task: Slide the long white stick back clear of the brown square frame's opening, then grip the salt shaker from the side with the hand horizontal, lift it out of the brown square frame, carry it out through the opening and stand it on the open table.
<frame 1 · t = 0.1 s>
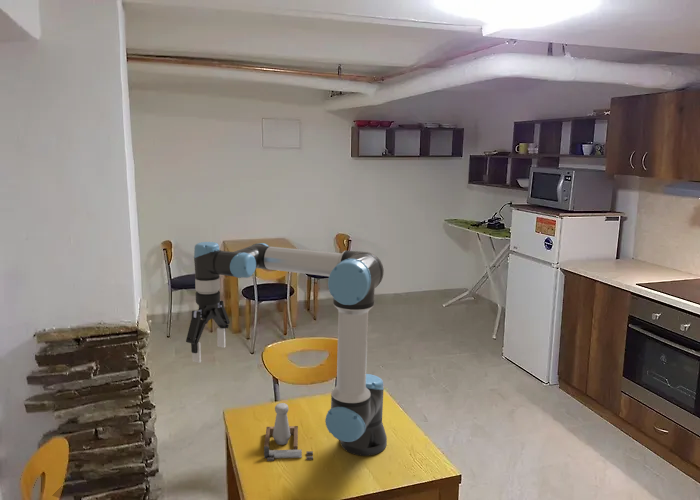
hand: (209, 354, 176), 28 cm above the table, tool pointing down, fingers open, 13 cm apart
brown square frame: (281, 441, 177), on the table
salt shaker: (281, 442, 178), resting in brown square frame
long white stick: (283, 451, 168), point 2 cm above the table, slide at 0.0 cm
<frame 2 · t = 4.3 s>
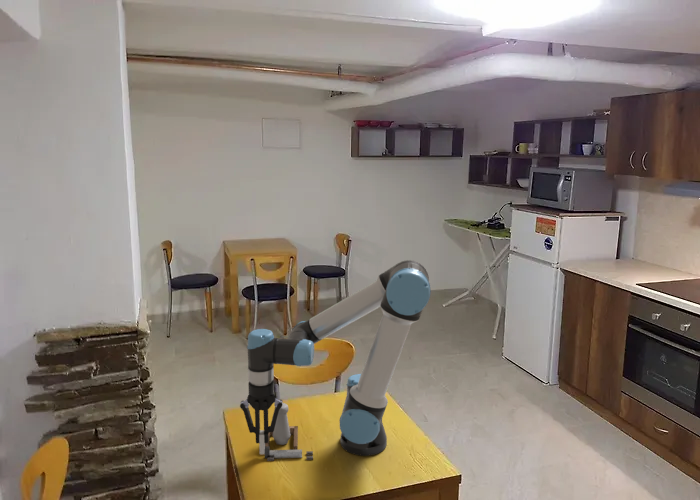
hand: (262, 451, 168), 2 cm above the table, tool pointing down, fingers closed
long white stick: (283, 451, 168), point 2 cm above the table, slide at 0.1 cm, touching gripper
everything else where it was.
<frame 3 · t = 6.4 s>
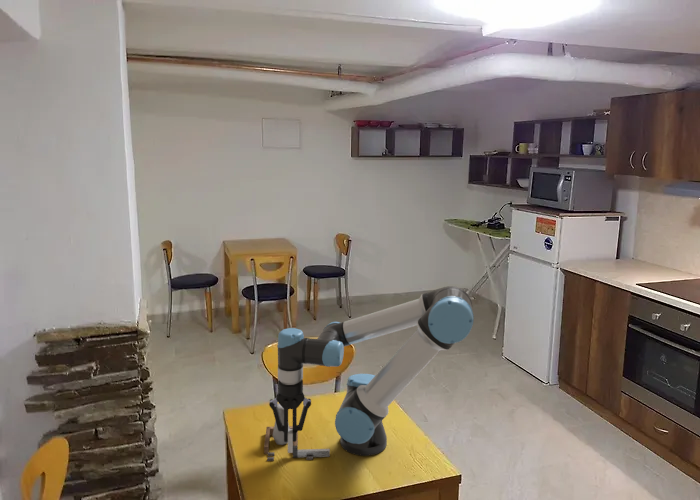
hand: (290, 450, 168), 2 cm above the table, tool pointing down, fingers closed
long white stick: (311, 451, 169), point 2 cm above the table, slide at 8.7 cm
everything else where it was.
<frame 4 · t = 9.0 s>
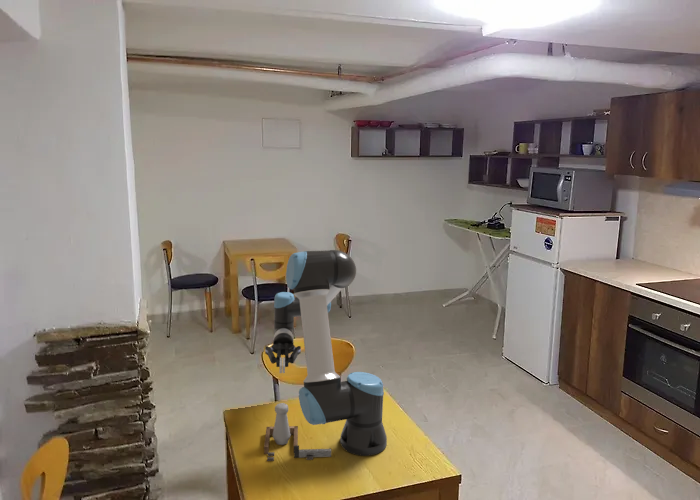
hand: (282, 369, 180), 22 cm above the table, tool horizontal, fingers closed
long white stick: (312, 451, 169), point 2 cm above the table, slide at 9.2 cm
everything else where it was.
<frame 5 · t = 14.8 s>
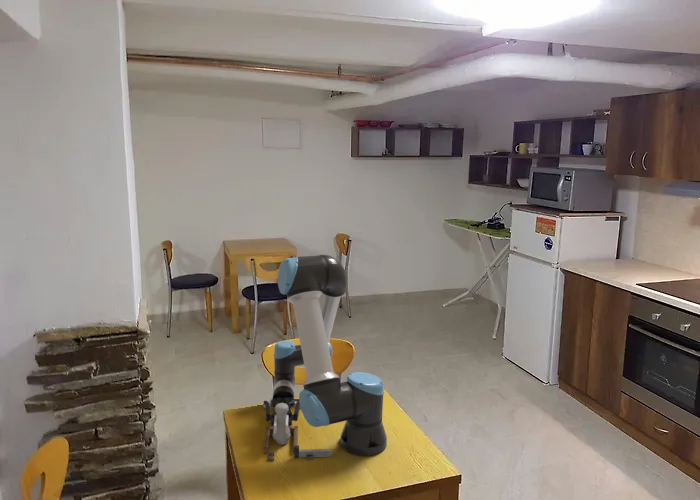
hand: (280, 429, 171), 8 cm above the table, tool horizontal, fingers closed on salt shaker, 3 cm apart
salt shaker: (281, 442, 178), resting in brown square frame, touching gripper
everything else where it was.
when the fingers open (9 cm above the table, at t = 20.1 s): salt shaker stays where it is, on the table.
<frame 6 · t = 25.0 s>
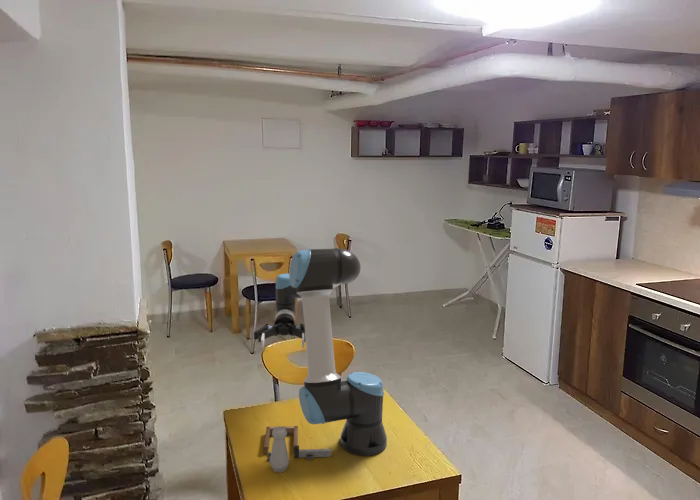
hand: (282, 343, 181), 30 cm above the table, tool horizontal, fingers open, 13 cm apart
salt shaker: (279, 469, 163), on the table
everything else where it was.
at the end: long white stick slide at 9.2 cm; salt shaker inside the target area (0.3 cm from its centre), on the table; salt shaker tilted 0° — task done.
